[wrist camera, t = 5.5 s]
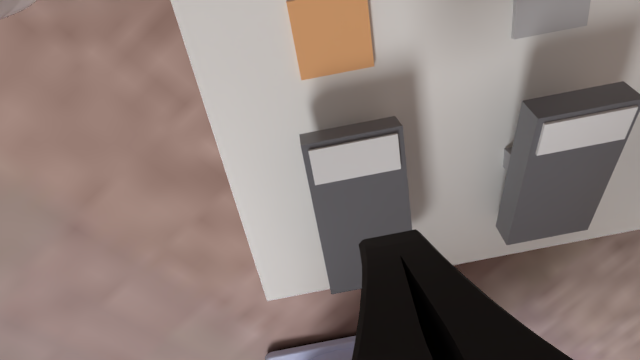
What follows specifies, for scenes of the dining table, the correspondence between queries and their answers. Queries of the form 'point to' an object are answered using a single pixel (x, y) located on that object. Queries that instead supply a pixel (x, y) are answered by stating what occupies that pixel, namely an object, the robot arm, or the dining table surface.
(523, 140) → the block
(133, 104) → the dining table surface
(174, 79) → the dining table surface
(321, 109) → the switch panel
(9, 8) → the drinking glass
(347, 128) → the block
